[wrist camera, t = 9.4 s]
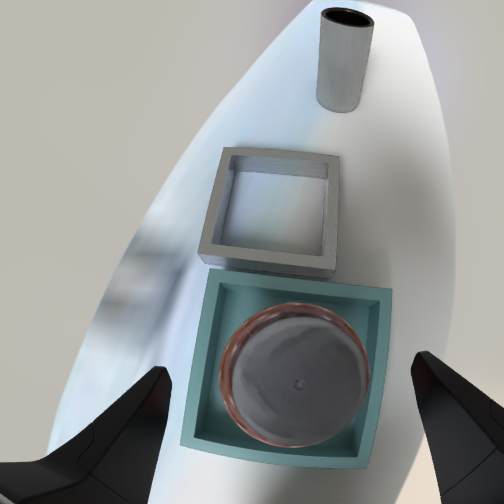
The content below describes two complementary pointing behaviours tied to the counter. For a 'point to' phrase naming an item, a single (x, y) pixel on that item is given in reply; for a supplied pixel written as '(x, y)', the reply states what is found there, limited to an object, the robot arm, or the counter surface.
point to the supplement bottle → (294, 375)
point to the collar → (268, 259)
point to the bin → (236, 313)
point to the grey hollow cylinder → (342, 57)
